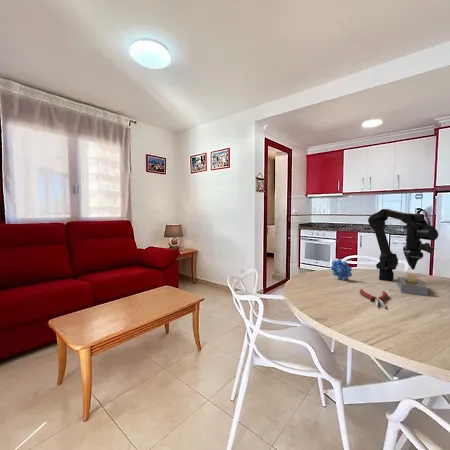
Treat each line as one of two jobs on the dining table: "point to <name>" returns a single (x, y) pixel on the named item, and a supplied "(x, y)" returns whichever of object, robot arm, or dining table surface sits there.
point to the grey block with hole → (412, 287)
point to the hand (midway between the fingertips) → (411, 267)
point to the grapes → (341, 269)
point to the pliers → (373, 299)
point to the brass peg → (411, 278)
